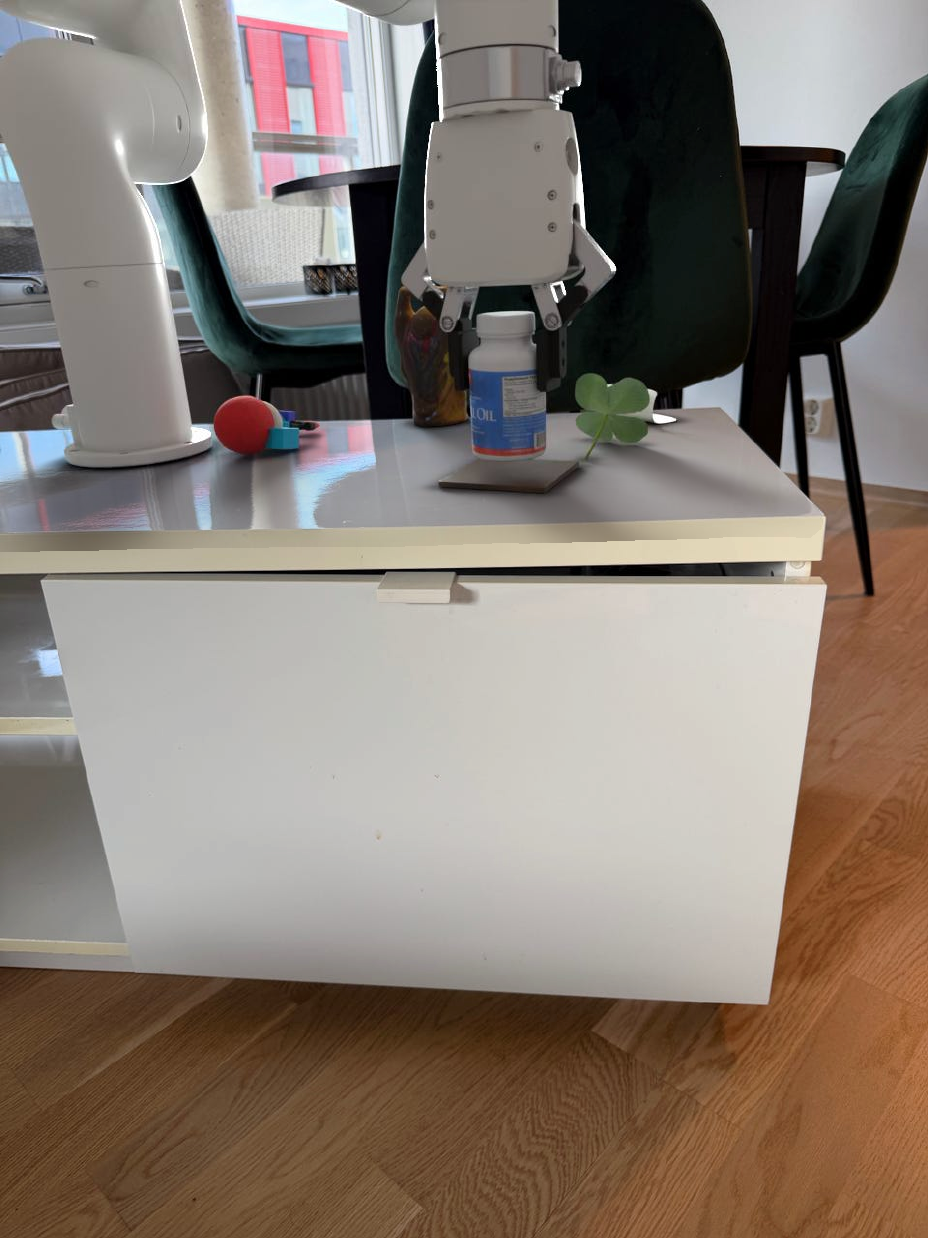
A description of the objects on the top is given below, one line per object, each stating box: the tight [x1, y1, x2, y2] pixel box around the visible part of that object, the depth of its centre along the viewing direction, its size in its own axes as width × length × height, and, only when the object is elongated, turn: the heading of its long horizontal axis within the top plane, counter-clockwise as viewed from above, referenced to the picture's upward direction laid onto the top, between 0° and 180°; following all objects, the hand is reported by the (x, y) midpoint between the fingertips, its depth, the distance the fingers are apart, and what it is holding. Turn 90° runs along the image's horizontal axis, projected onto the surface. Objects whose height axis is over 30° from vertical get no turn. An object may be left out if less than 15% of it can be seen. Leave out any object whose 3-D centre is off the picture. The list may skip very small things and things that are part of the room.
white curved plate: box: [607, 383, 677, 424], centre depth 83 cm, size 4×8×3 cm, turn 31°
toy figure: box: [213, 395, 320, 455], centre depth 79 cm, size 8×5×15 cm
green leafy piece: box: [574, 372, 650, 461], centre depth 70 cm, size 7×8×7 cm
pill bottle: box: [468, 310, 547, 462], centre depth 62 cm, size 6×5×10 cm
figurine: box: [393, 285, 469, 428], centre depth 85 cm, size 6×7×13 cm
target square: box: [437, 458, 580, 494], centre depth 64 cm, size 8×8×1 cm
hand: (507, 385), depth 62 cm, fingers closed on pill bottle, 5 cm apart
